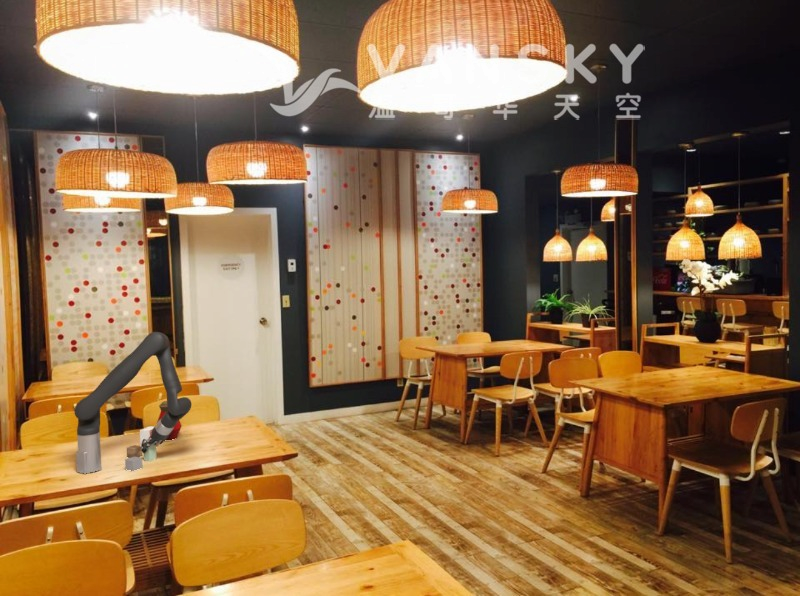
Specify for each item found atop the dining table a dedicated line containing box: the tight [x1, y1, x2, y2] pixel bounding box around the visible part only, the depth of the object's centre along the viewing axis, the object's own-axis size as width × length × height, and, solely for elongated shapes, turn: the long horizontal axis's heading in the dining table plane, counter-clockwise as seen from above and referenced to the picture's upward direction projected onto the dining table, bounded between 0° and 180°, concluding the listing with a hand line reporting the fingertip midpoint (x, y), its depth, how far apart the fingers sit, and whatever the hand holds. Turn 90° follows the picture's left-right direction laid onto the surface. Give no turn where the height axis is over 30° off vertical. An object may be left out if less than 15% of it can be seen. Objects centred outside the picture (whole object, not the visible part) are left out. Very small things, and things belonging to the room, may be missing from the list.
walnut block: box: [126, 444, 144, 459], centre depth 308 cm, size 5×5×5 cm
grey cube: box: [124, 457, 143, 472], centre depth 289 cm, size 5×5×5 cm
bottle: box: [156, 400, 182, 441], centre depth 339 cm, size 16×14×20 cm
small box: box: [139, 425, 160, 448], centre depth 322 cm, size 8×6×10 cm
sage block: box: [143, 445, 157, 462], centre depth 303 cm, size 4×4×7 cm
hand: (146, 450), depth 304 cm, fingers closed on sage block, 4 cm apart
